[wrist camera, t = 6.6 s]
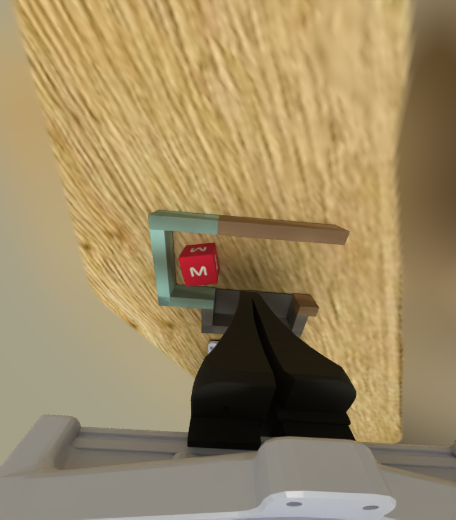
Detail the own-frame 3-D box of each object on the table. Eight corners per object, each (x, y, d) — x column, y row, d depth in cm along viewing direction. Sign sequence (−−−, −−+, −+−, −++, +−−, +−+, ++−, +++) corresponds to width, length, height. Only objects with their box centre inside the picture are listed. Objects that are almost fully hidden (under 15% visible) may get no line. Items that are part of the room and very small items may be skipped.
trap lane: (299, 325, 22) (306, 339, 20) (168, 315, 22) (162, 329, 20) (335, 224, 16) (349, 231, 14) (158, 210, 16) (147, 214, 14)
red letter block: (215, 242, 17) (212, 254, 15) (219, 268, 19) (217, 283, 16) (185, 245, 17) (177, 258, 15) (192, 270, 19) (185, 286, 16)
